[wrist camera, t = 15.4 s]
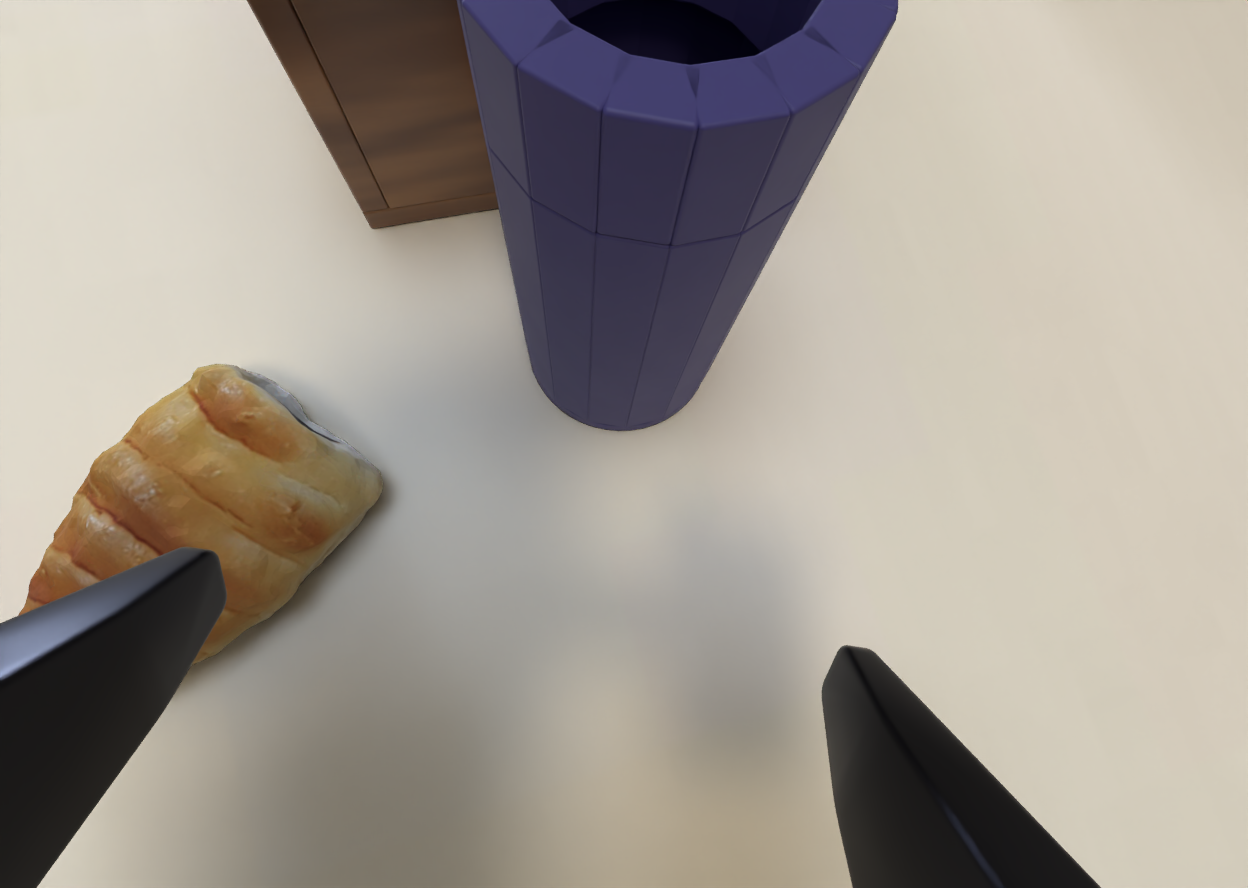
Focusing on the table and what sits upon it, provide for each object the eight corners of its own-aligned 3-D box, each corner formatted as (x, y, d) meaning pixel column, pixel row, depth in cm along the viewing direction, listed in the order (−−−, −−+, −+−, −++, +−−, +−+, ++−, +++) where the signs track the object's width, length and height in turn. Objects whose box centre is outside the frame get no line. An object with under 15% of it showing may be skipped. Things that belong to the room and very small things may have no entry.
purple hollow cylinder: (743, 365, 21) (991, -7, 8) (600, 467, 19) (636, 207, 7) (636, 237, 22) (710, -264, 9) (493, 325, 20) (356, -122, 8)
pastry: (185, 752, 16) (70, 793, 13) (10, 608, 17) (-146, 607, 13) (410, 480, 19) (368, 447, 15) (249, 363, 20) (172, 306, 16)
